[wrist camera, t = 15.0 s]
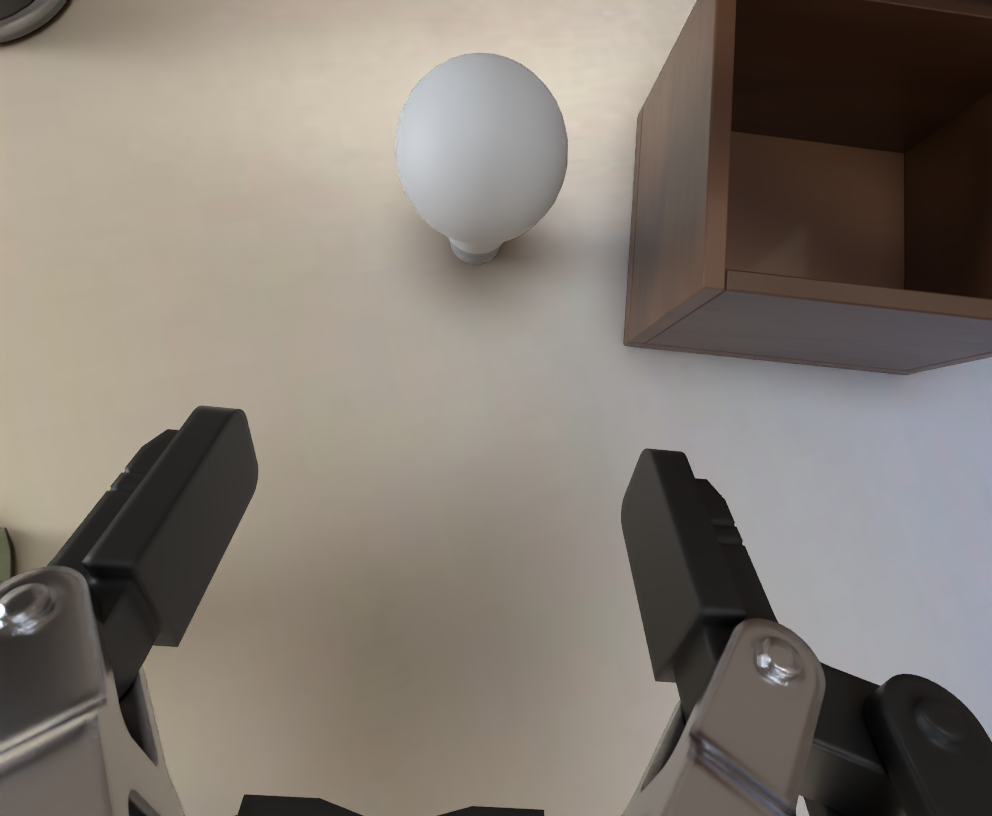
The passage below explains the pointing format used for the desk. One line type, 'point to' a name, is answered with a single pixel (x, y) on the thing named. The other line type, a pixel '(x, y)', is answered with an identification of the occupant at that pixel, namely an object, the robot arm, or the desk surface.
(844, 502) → the desk surface
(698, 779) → the robot arm
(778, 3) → the chest
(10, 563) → the medication box
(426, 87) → the lightbulb
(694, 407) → the desk surface
